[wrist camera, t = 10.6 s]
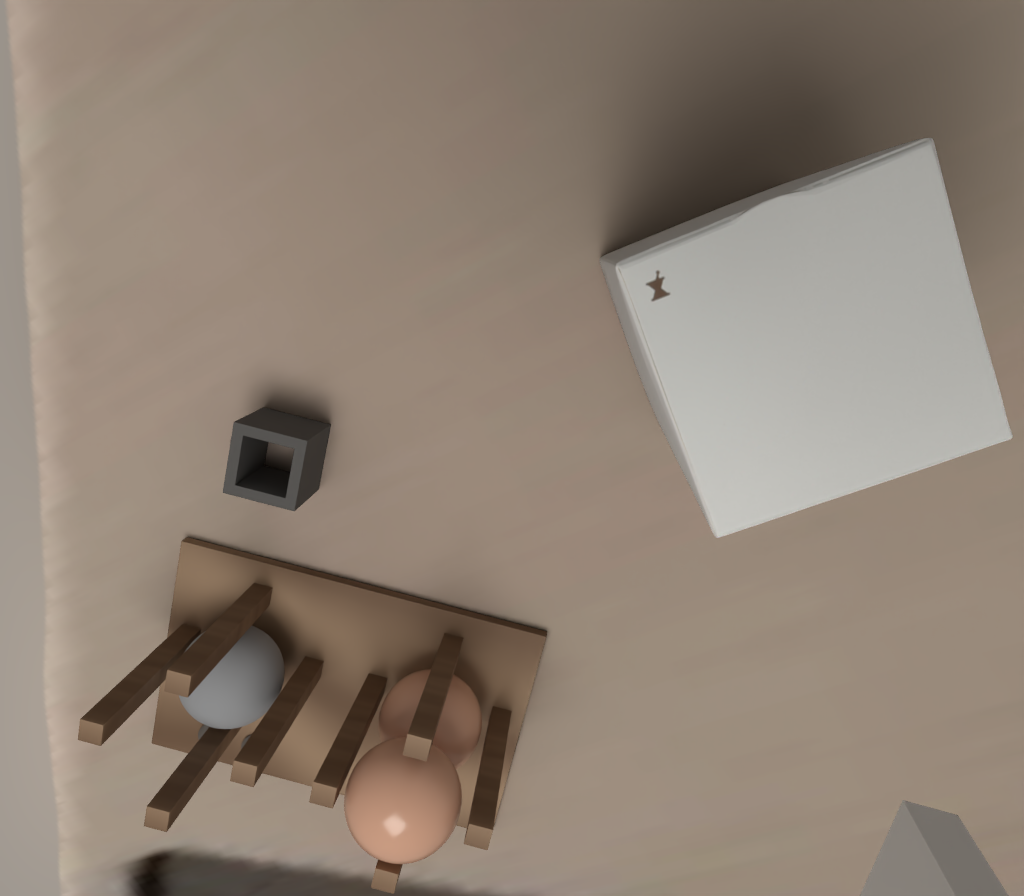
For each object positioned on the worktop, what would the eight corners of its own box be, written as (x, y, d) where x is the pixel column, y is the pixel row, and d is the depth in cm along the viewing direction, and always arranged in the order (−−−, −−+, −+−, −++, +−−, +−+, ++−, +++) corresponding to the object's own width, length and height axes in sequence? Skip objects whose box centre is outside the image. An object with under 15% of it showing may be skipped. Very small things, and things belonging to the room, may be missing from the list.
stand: (263, 407, 40) (234, 421, 36) (330, 424, 40) (307, 441, 36) (252, 472, 41) (222, 492, 37) (318, 489, 41) (294, 511, 37)
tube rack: (187, 537, 42) (75, 618, 33) (546, 631, 41) (536, 740, 32) (157, 736, 45) (47, 862, 36) (492, 826, 44) (468, 978, 35)
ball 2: (402, 643, 42) (381, 682, 37) (496, 667, 42) (488, 710, 37) (380, 732, 42) (356, 783, 38) (473, 757, 42) (462, 811, 37)
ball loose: (428, 700, 35) (394, 807, 31) (494, 769, 37) (470, 877, 33) (344, 728, 37) (302, 831, 33) (411, 791, 39) (378, 896, 35)
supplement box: (660, 438, 39) (707, 550, 24) (595, 256, 37) (602, 259, 22) (852, 370, 37) (1024, 446, 23) (793, 178, 35) (938, 126, 21)
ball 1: (212, 595, 42) (163, 640, 37) (306, 620, 42) (270, 669, 37) (198, 680, 43) (149, 734, 38) (290, 704, 43) (252, 762, 38)
